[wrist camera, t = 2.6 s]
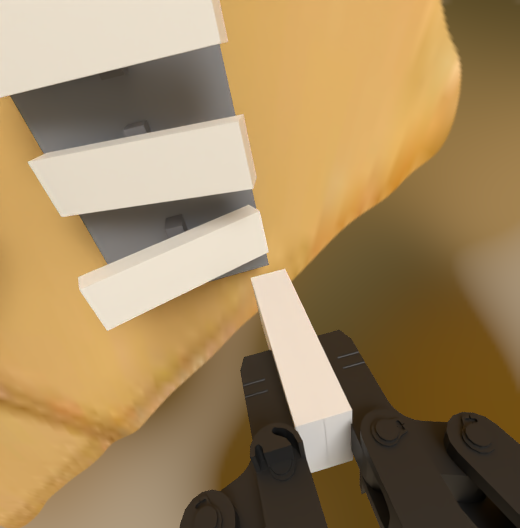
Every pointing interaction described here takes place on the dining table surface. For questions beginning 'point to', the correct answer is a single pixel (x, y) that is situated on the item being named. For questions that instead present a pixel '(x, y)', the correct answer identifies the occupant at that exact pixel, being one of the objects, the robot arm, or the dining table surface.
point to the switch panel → (135, 123)
